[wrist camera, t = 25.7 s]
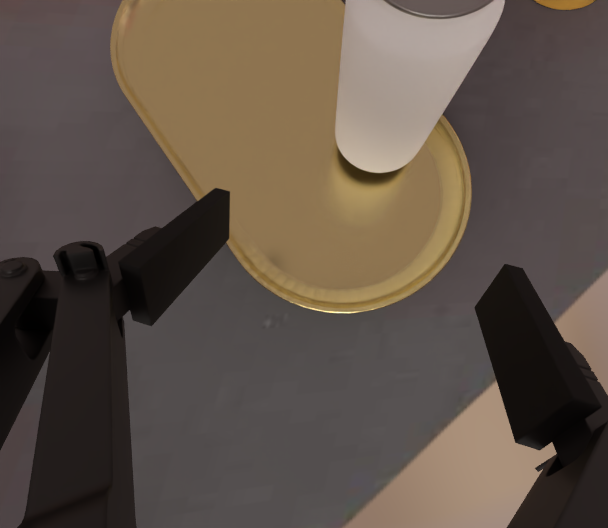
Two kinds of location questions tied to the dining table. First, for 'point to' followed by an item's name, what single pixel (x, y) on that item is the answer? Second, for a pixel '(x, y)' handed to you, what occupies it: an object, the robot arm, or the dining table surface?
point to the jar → (565, 4)
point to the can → (403, 73)
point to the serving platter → (288, 149)
